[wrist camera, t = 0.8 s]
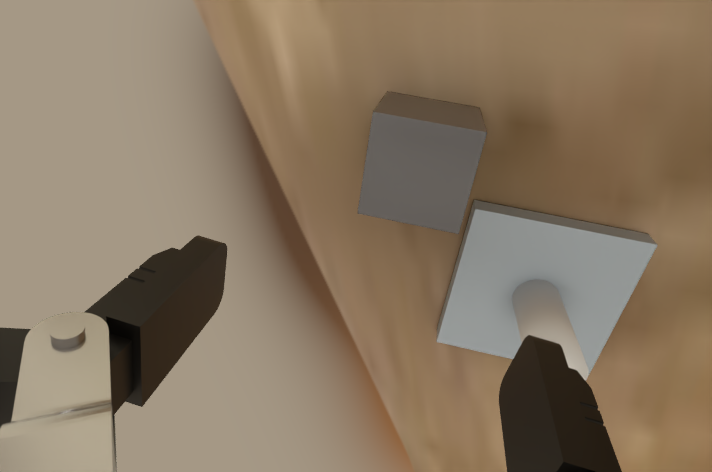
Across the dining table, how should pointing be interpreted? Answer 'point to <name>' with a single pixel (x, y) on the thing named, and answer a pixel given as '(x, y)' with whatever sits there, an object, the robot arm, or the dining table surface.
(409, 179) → the block
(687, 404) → the dining table surface
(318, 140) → the dining table surface
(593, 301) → the post base
